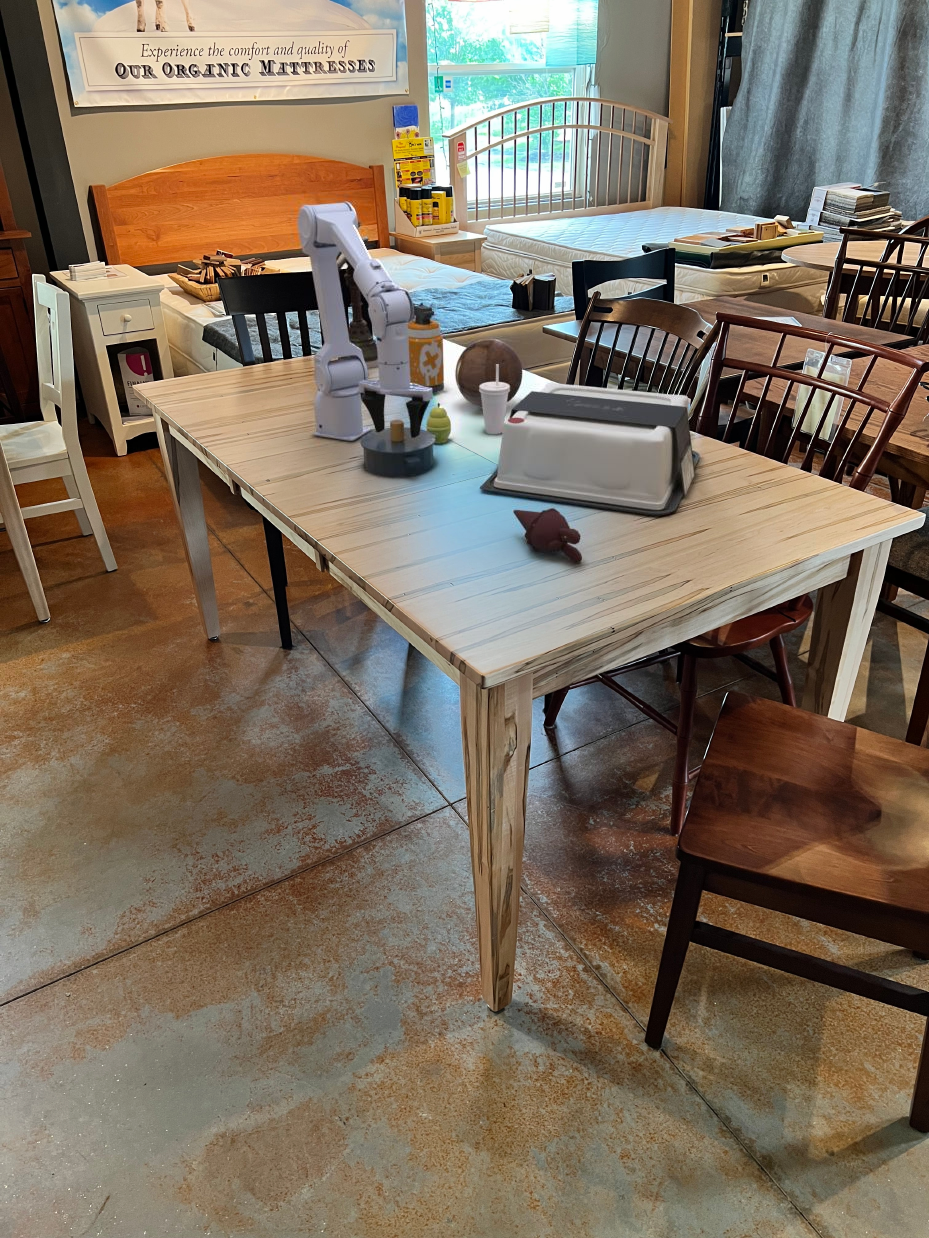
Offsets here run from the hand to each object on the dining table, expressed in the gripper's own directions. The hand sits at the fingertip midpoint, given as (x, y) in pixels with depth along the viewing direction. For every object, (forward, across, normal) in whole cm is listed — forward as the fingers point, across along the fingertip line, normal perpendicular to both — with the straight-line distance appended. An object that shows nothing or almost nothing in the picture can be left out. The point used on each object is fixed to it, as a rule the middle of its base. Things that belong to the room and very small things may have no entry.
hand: (397, 433), depth 164 cm
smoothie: (+6, +9, +25) cm, 27 cm away
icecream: (+6, +39, -23) cm, 46 cm away
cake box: (+6, +36, +11) cm, 38 cm away
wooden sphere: (+6, +1, +40) cm, 41 cm away
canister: (+6, -19, +46) cm, 50 cm away
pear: (+6, +1, +15) cm, 16 cm away
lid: (+2, 0, 0) cm, 2 cm away
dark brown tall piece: (+6, -47, +59) cm, 76 cm away
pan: (+6, 0, 0) cm, 6 cm away
